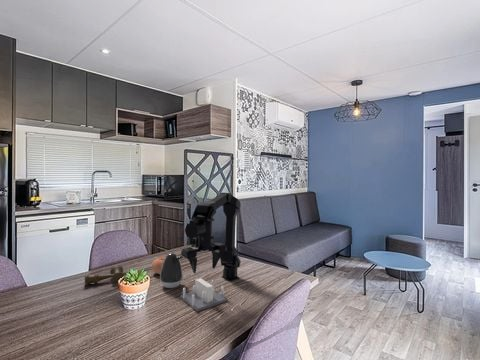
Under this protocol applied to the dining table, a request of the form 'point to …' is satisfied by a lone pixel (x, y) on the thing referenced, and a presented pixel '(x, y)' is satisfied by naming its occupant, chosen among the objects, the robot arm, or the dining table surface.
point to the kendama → (106, 276)
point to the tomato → (157, 265)
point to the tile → (204, 289)
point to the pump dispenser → (171, 271)
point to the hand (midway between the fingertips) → (204, 270)
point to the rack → (203, 298)
